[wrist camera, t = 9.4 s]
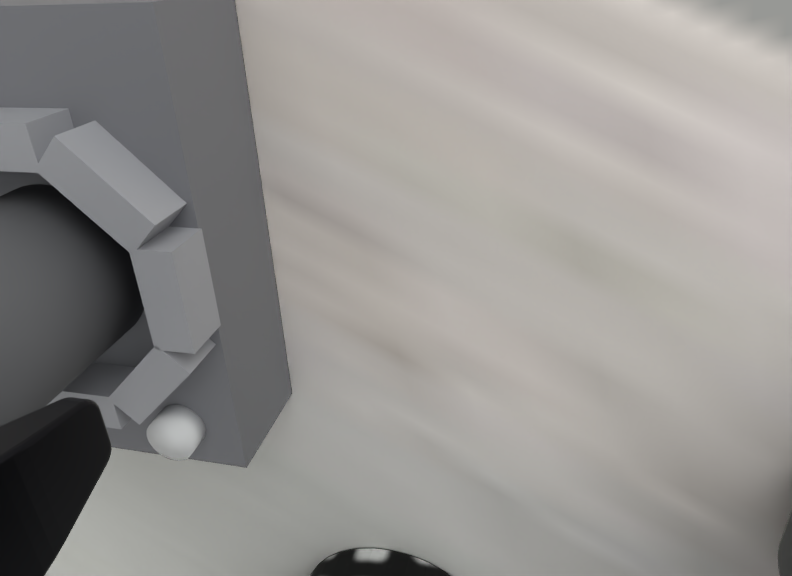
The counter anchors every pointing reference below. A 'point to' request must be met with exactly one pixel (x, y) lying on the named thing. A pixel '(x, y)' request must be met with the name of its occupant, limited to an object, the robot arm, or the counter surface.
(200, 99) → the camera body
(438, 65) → the counter surface
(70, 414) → the robot arm
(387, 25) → the counter surface
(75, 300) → the lens
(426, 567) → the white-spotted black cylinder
